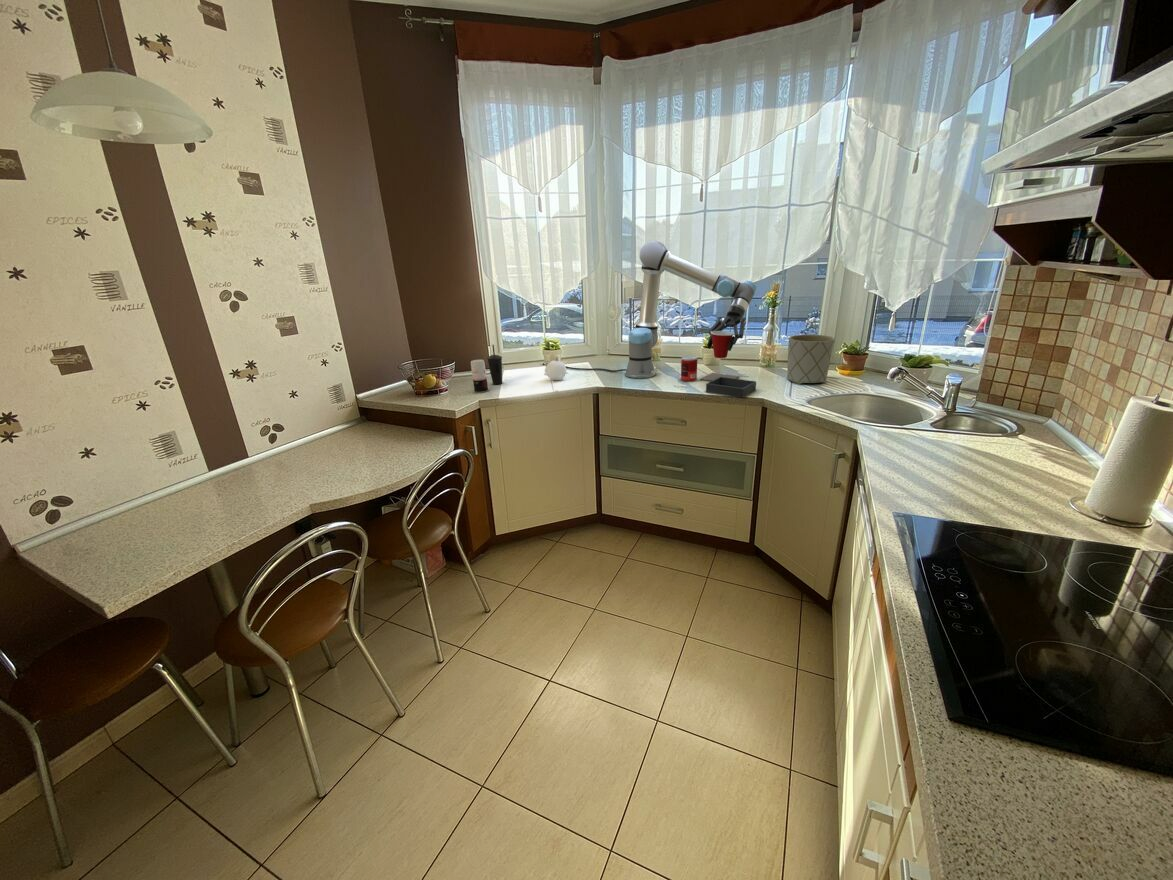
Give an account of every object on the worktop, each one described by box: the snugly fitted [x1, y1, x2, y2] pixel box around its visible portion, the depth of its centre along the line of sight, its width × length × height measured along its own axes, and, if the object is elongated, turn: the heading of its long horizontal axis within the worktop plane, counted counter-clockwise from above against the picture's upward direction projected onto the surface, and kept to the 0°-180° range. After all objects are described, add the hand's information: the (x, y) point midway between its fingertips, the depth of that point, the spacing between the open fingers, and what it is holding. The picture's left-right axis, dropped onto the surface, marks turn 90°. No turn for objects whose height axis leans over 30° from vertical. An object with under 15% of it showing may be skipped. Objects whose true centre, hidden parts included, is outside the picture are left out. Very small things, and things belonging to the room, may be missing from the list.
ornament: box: [545, 356, 567, 381], centre depth 245 cm, size 10×10×12 cm
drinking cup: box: [486, 344, 503, 386], centre depth 242 cm, size 8×8×20 cm
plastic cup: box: [711, 330, 735, 359], centre depth 228 cm, size 11×11×12 cm
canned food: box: [680, 355, 698, 382], centre depth 234 cm, size 8×8×11 cm
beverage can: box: [470, 359, 489, 394], centre depth 231 cm, size 6×7×15 cm
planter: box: [786, 334, 836, 385], centre depth 220 cm, size 19×19×20 cm
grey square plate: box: [699, 372, 740, 382], centre depth 235 cm, size 14×14×1 cm
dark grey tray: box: [705, 377, 757, 399], centre depth 213 cm, size 17×14×4 cm
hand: (718, 348), depth 226 cm, fingers closed on plastic cup, 10 cm apart
